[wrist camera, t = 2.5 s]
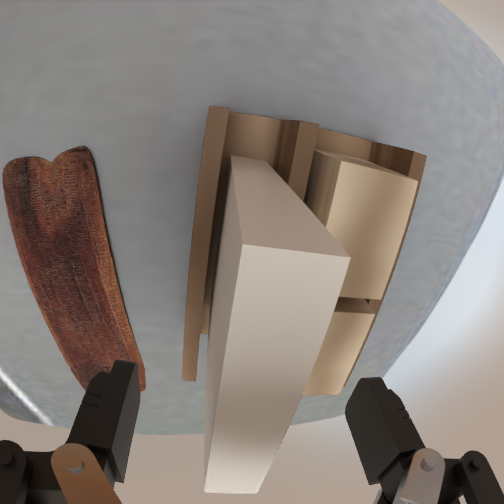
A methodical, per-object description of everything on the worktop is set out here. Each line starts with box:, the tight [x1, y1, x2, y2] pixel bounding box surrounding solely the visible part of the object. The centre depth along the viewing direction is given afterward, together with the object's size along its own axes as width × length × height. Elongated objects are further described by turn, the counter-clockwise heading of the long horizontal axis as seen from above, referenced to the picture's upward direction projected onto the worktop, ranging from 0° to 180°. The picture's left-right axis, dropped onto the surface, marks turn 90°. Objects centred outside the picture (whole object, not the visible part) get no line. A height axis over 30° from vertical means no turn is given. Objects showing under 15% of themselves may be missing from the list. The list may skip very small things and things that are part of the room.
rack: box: [182, 106, 427, 387], centre depth 22 cm, size 13×18×7 cm
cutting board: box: [204, 155, 351, 493], centre depth 16 cm, size 2×12×16 cm, turn 171°
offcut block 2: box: [302, 297, 375, 396], centre depth 22 cm, size 4×7×8 cm, turn 171°
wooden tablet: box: [3, 146, 146, 391], centre depth 26 cm, size 26×2×10 cm
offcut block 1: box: [303, 148, 418, 300], centre depth 19 cm, size 4×7×8 cm, turn 171°
